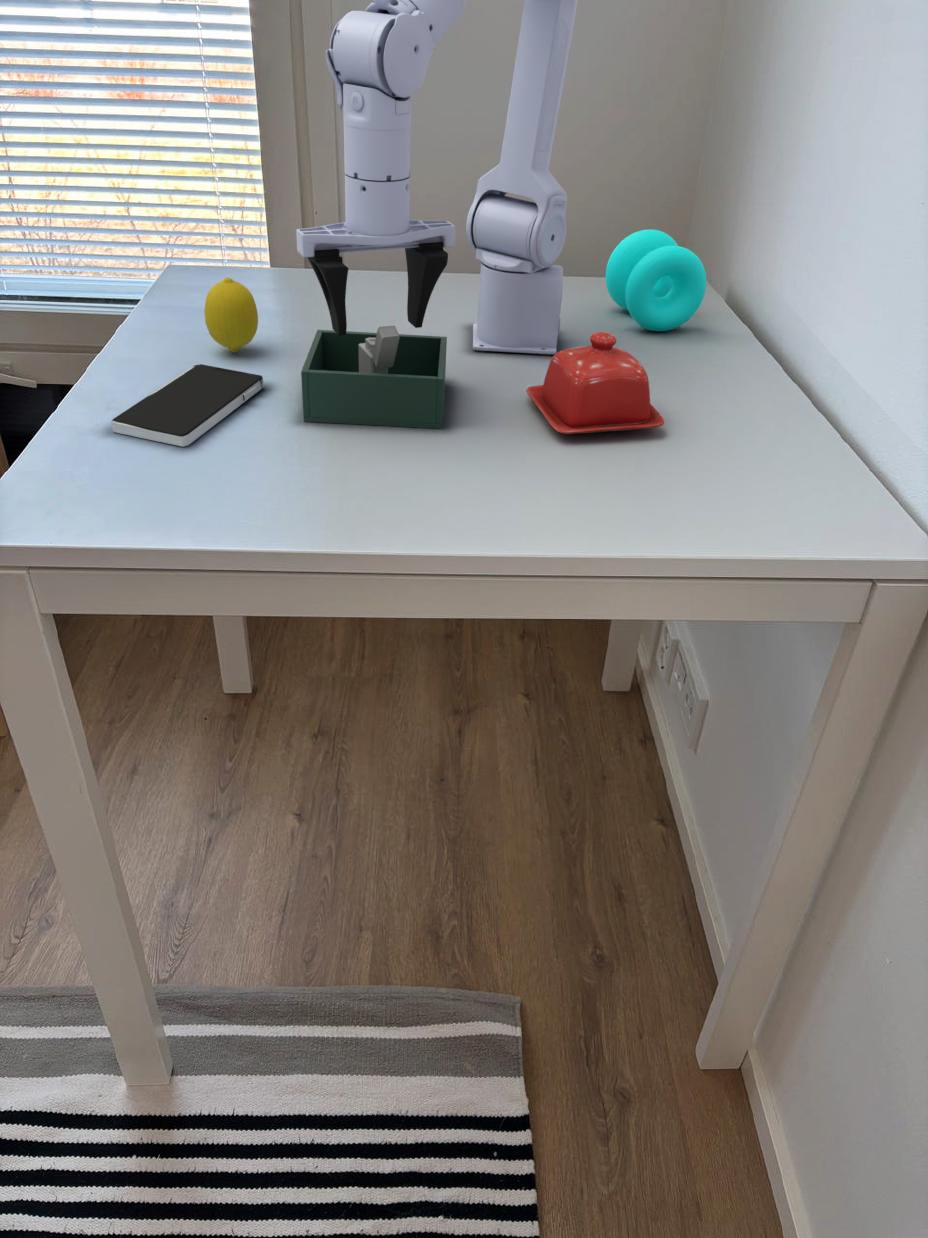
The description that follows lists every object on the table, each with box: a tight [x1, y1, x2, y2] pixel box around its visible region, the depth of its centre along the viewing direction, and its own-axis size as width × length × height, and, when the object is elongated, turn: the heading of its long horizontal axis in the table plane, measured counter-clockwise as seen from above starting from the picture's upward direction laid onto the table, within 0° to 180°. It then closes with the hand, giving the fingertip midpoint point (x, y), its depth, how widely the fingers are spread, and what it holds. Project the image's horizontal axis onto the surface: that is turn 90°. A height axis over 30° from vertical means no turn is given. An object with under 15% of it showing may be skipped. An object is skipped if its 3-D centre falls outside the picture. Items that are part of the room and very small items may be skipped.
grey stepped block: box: [359, 325, 400, 374], centre depth 93 cm, size 7×2×8 cm, turn 24°
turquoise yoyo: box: [605, 229, 707, 332], centre depth 117 cm, size 10×10×10 cm
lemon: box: [203, 277, 259, 353], centre depth 102 cm, size 6×6×8 cm
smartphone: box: [111, 363, 265, 447], centre depth 92 cm, size 8×1×15 cm
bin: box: [300, 329, 448, 430], centre depth 94 cm, size 13×11×5 cm
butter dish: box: [525, 331, 666, 435], centre depth 93 cm, size 12×12×8 cm
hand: (377, 327), depth 92 cm, fingers open, 7 cm apart
